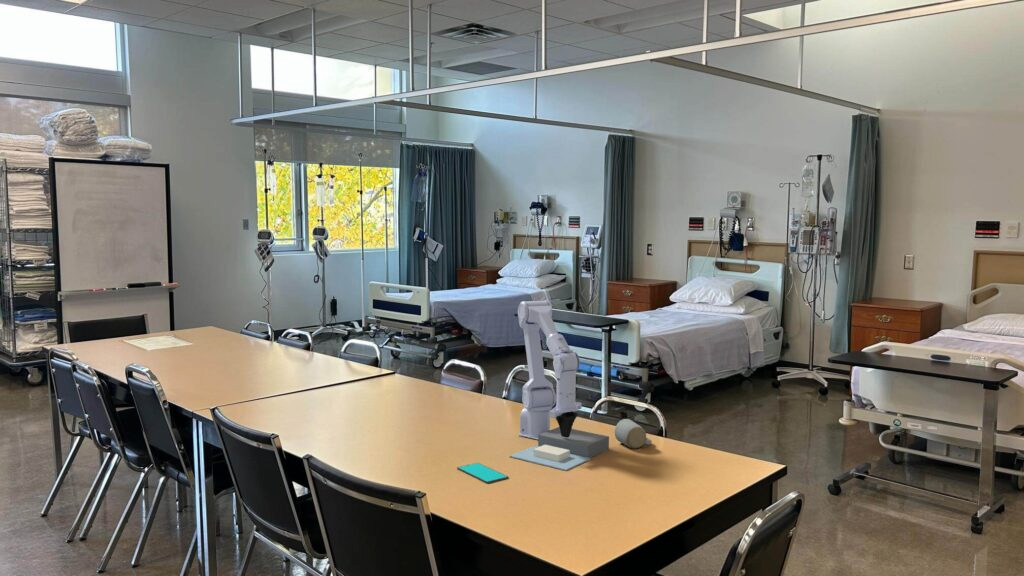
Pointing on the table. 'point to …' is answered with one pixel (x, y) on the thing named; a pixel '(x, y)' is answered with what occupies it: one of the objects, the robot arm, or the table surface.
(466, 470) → the smartphone
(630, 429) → the ceramic mug
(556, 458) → the cream rectangular block
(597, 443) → the plate
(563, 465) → the mat
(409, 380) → the table surface
